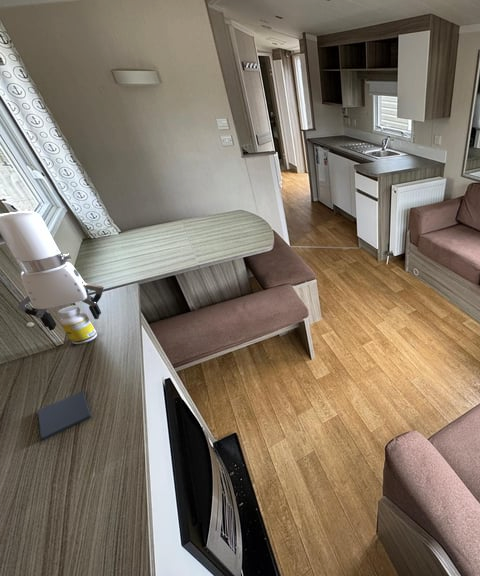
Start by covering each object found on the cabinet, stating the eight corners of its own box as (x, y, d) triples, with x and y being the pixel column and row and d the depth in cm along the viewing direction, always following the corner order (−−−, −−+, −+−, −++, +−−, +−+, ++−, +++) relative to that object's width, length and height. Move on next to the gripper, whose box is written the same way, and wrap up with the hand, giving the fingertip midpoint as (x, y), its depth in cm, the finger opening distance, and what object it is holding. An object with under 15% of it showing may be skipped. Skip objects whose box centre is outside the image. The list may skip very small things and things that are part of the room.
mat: (39, 412, 62) (37, 409, 62) (84, 392, 67) (82, 390, 67) (42, 440, 56) (40, 438, 56) (91, 417, 61) (90, 415, 61)
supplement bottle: (71, 339, 85) (53, 309, 81) (96, 331, 89) (80, 301, 84) (73, 347, 82) (54, 316, 77) (99, 338, 85) (83, 308, 81)
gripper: (91, 251, 82) (117, 307, 90) (-3, 266, 73) (35, 326, 81) (86, 260, 76) (115, 318, 84) (-16, 277, 68) (26, 340, 76)
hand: (76, 322), depth 83 cm, fingers open, 8 cm apart
